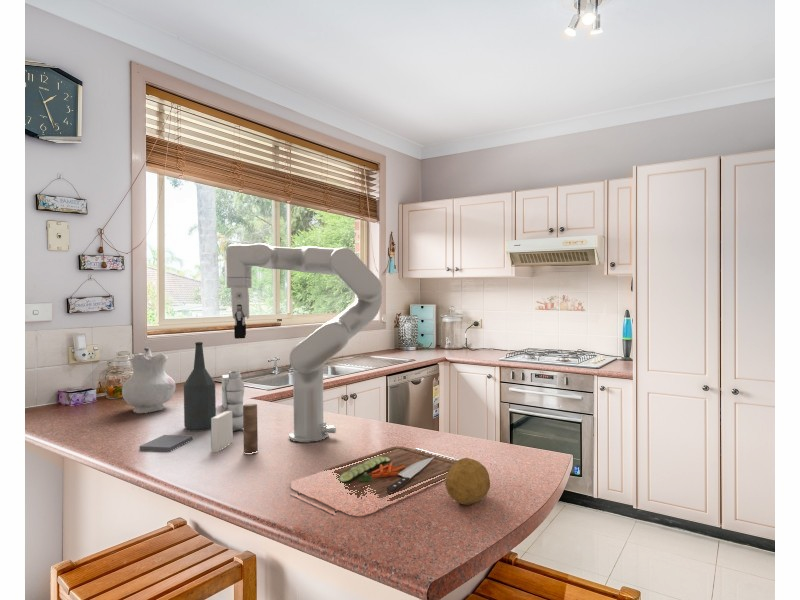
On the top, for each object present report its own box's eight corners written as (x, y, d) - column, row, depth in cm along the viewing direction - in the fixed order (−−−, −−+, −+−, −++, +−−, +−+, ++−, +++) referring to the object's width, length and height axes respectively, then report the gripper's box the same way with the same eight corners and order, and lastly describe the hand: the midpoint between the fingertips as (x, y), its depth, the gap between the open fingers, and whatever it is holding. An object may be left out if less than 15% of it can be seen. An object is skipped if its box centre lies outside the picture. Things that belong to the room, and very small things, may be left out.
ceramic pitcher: (117, 411, 206) (110, 351, 204) (166, 400, 219) (161, 343, 217) (131, 421, 190) (124, 356, 188) (184, 408, 203) (178, 348, 201)
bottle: (199, 422, 183) (198, 340, 182) (221, 424, 179) (220, 340, 179) (178, 430, 173) (176, 343, 172) (201, 432, 170) (199, 343, 169)
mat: (192, 439, 161) (192, 435, 161) (170, 451, 150) (170, 447, 150) (164, 438, 163) (164, 434, 163) (139, 450, 151) (139, 446, 151)
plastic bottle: (220, 431, 171) (219, 372, 170) (235, 426, 177) (234, 370, 176) (234, 433, 168) (233, 374, 167) (249, 428, 174) (248, 371, 173)
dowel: (260, 450, 150) (259, 403, 149) (254, 455, 146) (253, 406, 145) (247, 450, 150) (246, 403, 150) (241, 454, 146) (240, 406, 146)
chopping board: (403, 447, 153) (403, 437, 153) (476, 467, 135) (476, 456, 135) (276, 491, 121) (276, 478, 120) (350, 525, 102) (350, 511, 102)
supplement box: (221, 404, 211) (221, 374, 211) (240, 403, 214) (239, 373, 214) (223, 408, 205) (223, 377, 204) (242, 406, 208) (242, 376, 207)
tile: (232, 442, 158) (232, 411, 158) (218, 451, 149) (217, 418, 149) (225, 442, 158) (225, 410, 158) (210, 451, 149) (210, 418, 149)
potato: (501, 455, 115) (464, 445, 120) (476, 477, 104) (436, 464, 109) (498, 495, 116) (462, 483, 121) (473, 520, 105) (434, 505, 110)
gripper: (251, 282, 153) (252, 339, 153) (251, 283, 170) (252, 334, 170) (225, 283, 151) (226, 340, 151) (228, 284, 168) (229, 335, 168)
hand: (240, 337), depth 161 cm, fingers open, 9 cm apart
